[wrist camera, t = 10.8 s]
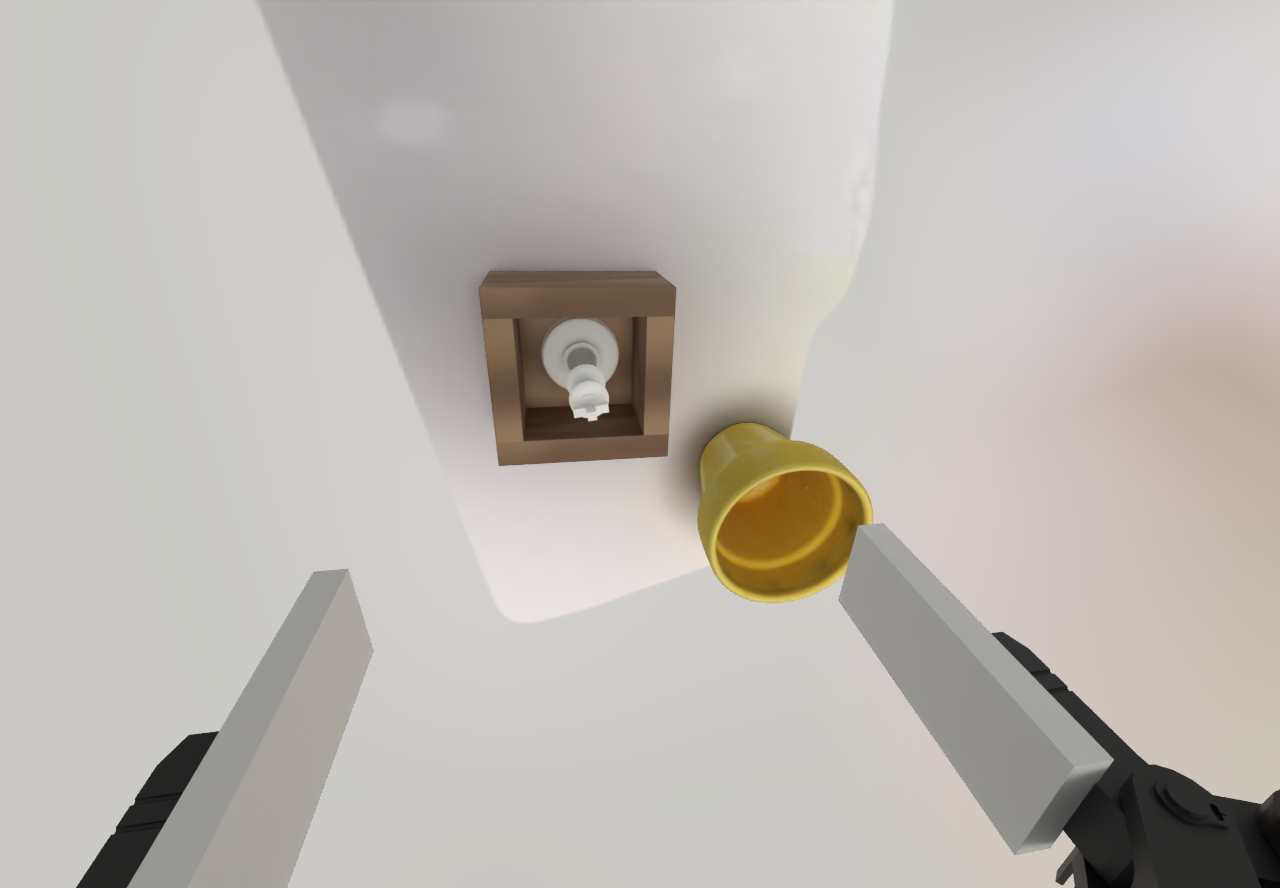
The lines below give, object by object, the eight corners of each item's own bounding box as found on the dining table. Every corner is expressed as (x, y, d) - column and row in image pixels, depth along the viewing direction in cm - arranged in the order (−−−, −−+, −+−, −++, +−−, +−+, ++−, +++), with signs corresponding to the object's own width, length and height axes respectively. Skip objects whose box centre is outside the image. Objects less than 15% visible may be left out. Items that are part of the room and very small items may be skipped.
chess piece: (533, 320, 31) (528, 375, 23) (613, 308, 32) (637, 357, 23) (549, 395, 34) (550, 471, 25) (623, 382, 34) (649, 452, 25)
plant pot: (668, 521, 41) (701, 612, 32) (679, 400, 36) (720, 467, 28) (791, 515, 42) (853, 599, 34) (816, 397, 38) (895, 460, 29)
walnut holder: (490, 270, 31) (478, 288, 25) (654, 270, 32) (676, 287, 27) (506, 423, 35) (499, 465, 30) (649, 417, 37) (667, 456, 31)
